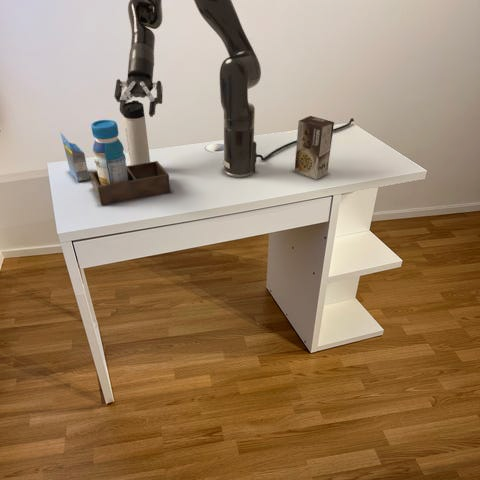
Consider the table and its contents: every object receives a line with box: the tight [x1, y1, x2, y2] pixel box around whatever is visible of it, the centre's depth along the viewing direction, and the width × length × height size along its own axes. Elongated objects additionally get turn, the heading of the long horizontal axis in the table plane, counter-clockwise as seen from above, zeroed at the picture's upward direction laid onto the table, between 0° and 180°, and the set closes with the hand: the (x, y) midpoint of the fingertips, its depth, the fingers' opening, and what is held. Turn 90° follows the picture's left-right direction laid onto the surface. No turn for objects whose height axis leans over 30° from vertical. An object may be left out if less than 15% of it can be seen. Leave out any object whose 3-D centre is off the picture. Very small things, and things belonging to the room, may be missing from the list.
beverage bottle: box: [91, 119, 128, 186], centre depth 128 cm, size 8×8×20 cm
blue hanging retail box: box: [60, 133, 90, 183], centre depth 140 cm, size 9×4×12 cm, turn 32°
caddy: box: [89, 160, 171, 206], centre depth 134 cm, size 20×11×6 cm, turn 115°
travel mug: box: [122, 100, 151, 166], centre depth 141 cm, size 6×7×20 cm
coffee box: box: [294, 115, 335, 180], centre depth 143 cm, size 9×6×16 cm
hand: (137, 115), depth 140 cm, fingers open, 8 cm apart
